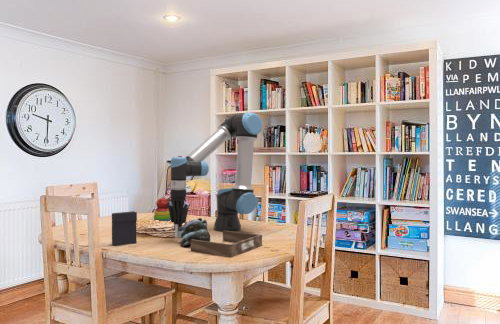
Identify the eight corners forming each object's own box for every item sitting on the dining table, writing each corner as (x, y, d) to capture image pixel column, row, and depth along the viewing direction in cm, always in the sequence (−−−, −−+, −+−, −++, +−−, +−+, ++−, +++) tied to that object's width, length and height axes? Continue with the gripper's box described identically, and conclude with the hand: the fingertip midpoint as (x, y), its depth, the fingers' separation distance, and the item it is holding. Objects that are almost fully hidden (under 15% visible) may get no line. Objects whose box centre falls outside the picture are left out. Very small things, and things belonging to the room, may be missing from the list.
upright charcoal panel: (133, 241, 213) (133, 211, 213) (137, 243, 210) (137, 212, 209) (111, 244, 206) (111, 212, 206) (114, 246, 203) (114, 214, 203)
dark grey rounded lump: (176, 247, 201) (172, 218, 206) (186, 252, 211) (182, 224, 217) (206, 239, 198) (202, 210, 204) (215, 244, 209) (211, 216, 215)
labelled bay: (224, 240, 216) (224, 230, 216) (262, 245, 205) (262, 234, 205) (190, 251, 194) (190, 239, 194) (231, 257, 183) (231, 245, 183)
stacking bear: (167, 231, 240) (167, 199, 239) (150, 231, 242) (150, 198, 241) (175, 228, 250) (175, 197, 250) (158, 227, 252) (158, 196, 252)
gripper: (163, 188, 214) (162, 237, 214) (183, 190, 207) (183, 240, 208) (173, 187, 220) (173, 234, 221) (193, 189, 213) (193, 237, 214)
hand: (178, 237), depth 214 cm, fingers closed
